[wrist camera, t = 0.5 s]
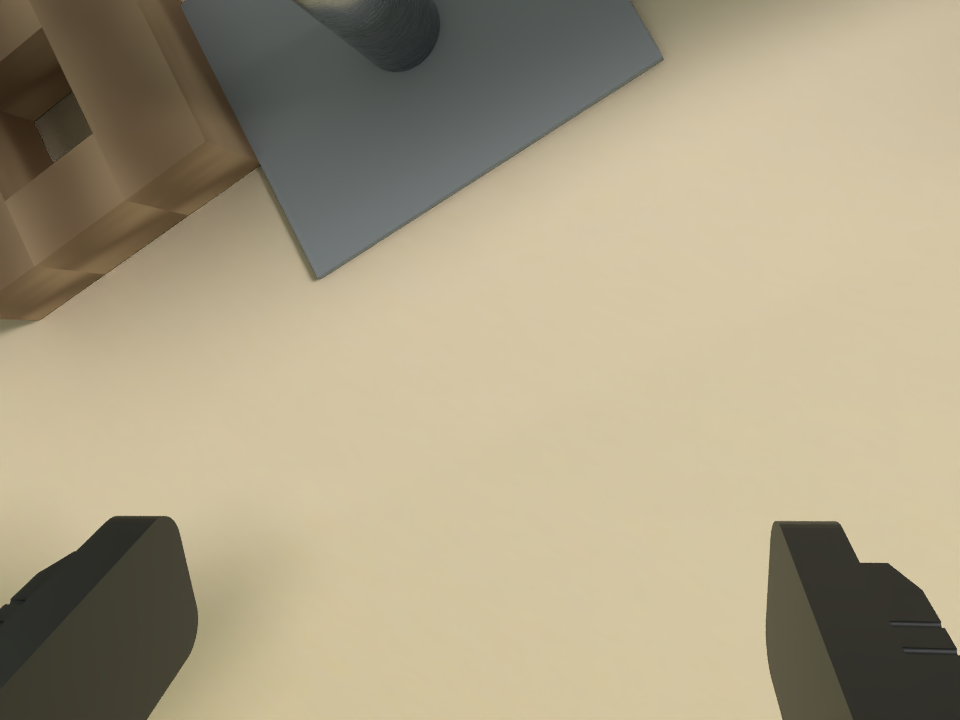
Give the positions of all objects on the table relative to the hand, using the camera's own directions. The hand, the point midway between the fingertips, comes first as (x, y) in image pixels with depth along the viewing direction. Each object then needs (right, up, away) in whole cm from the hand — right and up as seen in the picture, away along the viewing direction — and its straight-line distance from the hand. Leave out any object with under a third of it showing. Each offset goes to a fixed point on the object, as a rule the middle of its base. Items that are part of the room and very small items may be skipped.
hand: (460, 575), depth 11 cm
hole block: (-15, +12, +22) cm, 29 cm away
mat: (-2, +14, +18) cm, 23 cm away
